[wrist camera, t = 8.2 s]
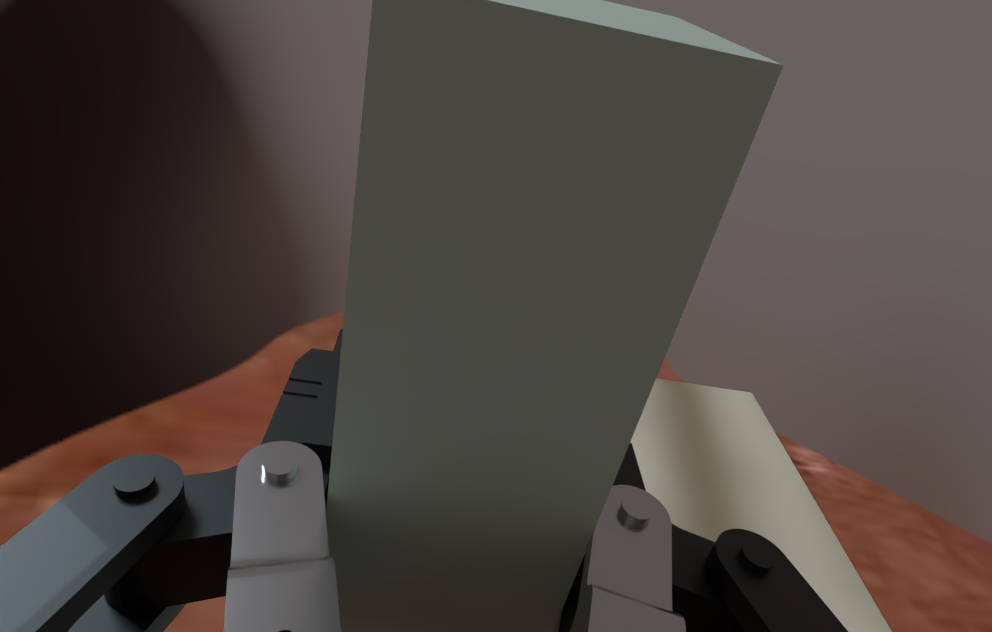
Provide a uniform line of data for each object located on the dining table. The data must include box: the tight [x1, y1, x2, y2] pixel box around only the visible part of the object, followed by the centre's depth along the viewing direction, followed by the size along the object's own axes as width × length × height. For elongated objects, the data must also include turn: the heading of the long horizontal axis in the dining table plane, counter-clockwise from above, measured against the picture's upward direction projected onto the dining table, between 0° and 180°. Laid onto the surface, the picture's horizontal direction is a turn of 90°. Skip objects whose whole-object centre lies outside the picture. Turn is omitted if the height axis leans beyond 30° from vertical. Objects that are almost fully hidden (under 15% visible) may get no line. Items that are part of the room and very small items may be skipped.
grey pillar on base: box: [326, 0, 783, 632], centre depth 12 cm, size 6×8×16 cm
